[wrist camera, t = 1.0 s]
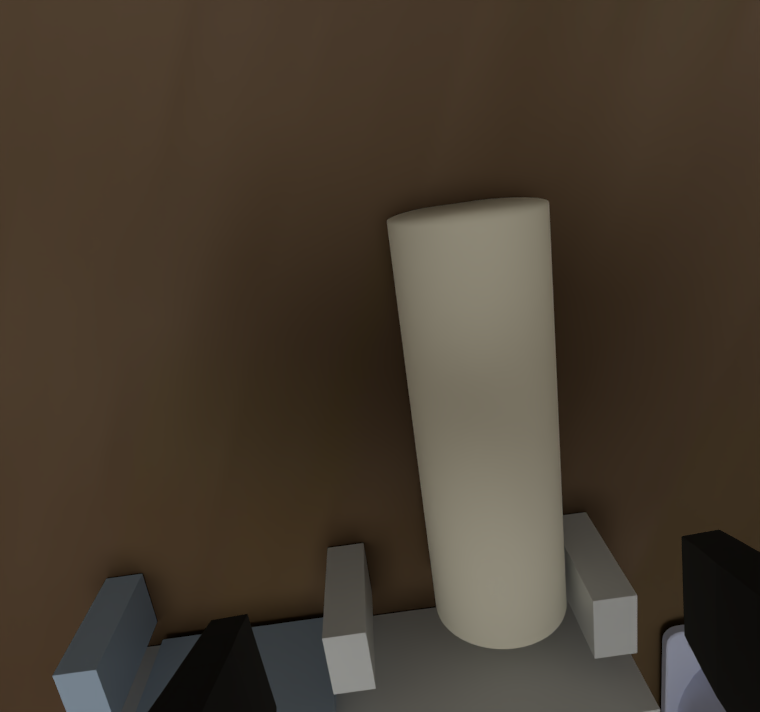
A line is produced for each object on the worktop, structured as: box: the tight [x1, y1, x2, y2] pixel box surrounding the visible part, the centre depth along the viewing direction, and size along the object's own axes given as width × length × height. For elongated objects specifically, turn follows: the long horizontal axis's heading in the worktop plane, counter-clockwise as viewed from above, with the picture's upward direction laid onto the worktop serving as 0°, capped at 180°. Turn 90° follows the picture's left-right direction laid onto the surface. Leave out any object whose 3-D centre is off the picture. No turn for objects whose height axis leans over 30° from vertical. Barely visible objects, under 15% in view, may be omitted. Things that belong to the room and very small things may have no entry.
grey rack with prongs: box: [53, 512, 660, 712], centre depth 19 cm, size 16×4×5 cm, turn 98°
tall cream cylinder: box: [387, 197, 567, 649], centre depth 18 cm, size 12×4×4 cm, turn 8°
